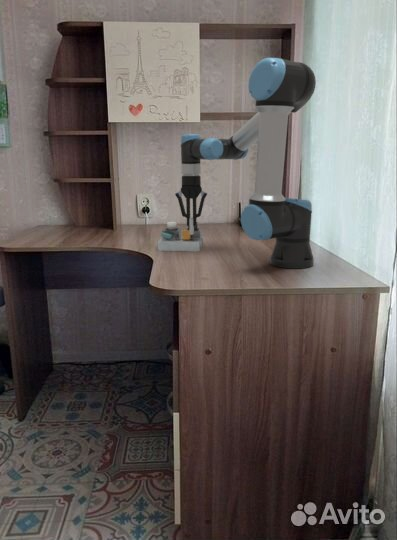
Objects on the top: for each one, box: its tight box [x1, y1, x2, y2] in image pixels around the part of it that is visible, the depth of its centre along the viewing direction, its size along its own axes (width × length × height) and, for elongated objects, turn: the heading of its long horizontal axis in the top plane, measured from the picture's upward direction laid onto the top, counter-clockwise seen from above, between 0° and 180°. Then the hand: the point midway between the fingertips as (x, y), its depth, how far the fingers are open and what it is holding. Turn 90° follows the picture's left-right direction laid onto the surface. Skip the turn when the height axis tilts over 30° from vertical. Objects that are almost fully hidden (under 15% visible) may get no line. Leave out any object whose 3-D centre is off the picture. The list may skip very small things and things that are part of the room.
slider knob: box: [181, 229, 191, 239], centre depth 175 cm, size 3×3×4 cm
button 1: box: [166, 220, 178, 230], centre depth 182 cm, size 4×4×3 cm
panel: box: [157, 227, 204, 252], centre depth 179 cm, size 15×17×7 cm
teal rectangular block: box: [160, 233, 172, 239], centre depth 176 cm, size 2×4×1 cm, turn 84°
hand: (191, 233), depth 174 cm, fingers closed
